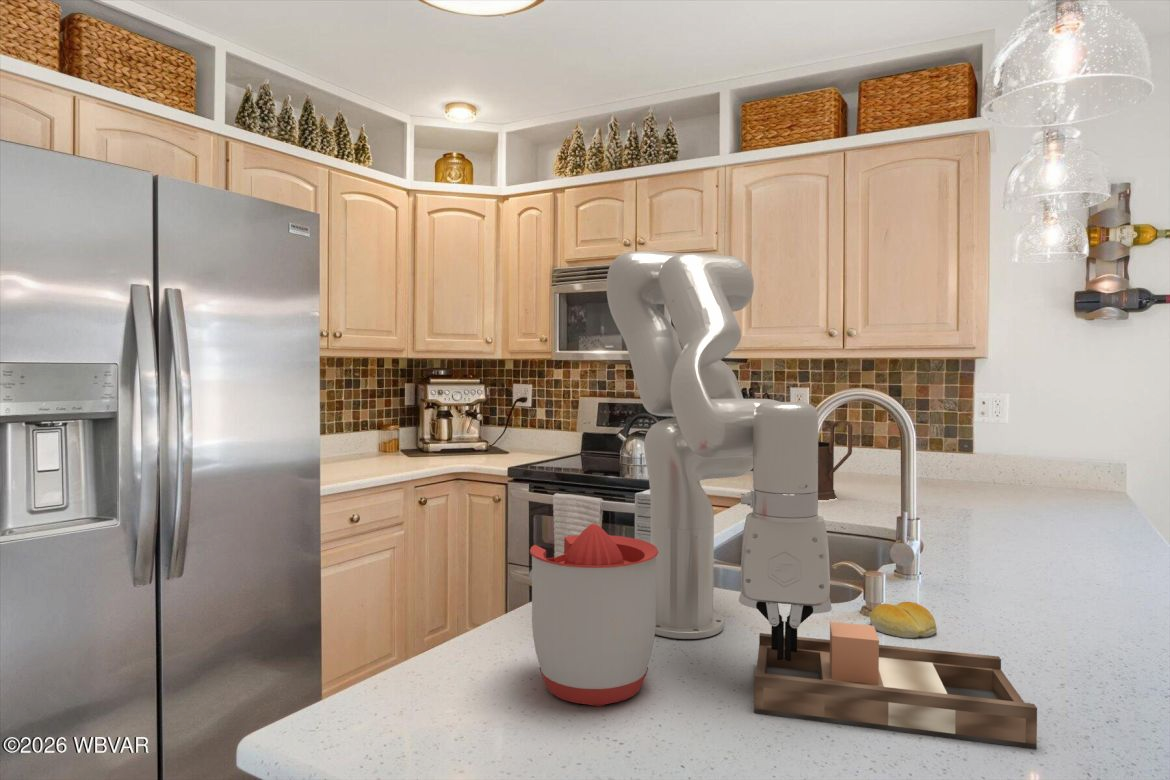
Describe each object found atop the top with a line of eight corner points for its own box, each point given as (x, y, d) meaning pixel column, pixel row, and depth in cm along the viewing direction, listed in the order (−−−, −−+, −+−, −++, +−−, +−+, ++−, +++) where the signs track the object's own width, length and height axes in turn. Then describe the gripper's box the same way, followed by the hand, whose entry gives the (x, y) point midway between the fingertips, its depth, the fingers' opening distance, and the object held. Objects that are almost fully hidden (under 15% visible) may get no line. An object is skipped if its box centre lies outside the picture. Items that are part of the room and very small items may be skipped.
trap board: (754, 712, 80) (754, 675, 80) (759, 664, 94) (759, 632, 94) (1036, 749, 73) (1037, 708, 73) (998, 690, 86) (998, 656, 86)
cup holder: (797, 491, 238) (798, 415, 237) (866, 500, 219) (867, 419, 219) (764, 497, 226) (764, 418, 225) (833, 507, 207) (834, 421, 207)
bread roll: (860, 622, 111) (860, 596, 111) (914, 620, 112) (914, 594, 112) (889, 641, 103) (889, 614, 103) (947, 639, 104) (947, 611, 104)
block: (831, 679, 82) (832, 636, 82) (829, 662, 87) (829, 621, 87) (878, 684, 81) (878, 640, 81) (873, 667, 86) (874, 625, 86)
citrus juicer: (575, 648, 99) (575, 505, 99) (682, 682, 88) (683, 521, 88) (492, 686, 87) (492, 523, 87) (605, 730, 76) (605, 544, 76)
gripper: (718, 507, 84) (718, 661, 85) (853, 513, 80) (852, 676, 80) (724, 496, 92) (724, 639, 92) (848, 502, 87) (847, 651, 88)
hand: (784, 656), depth 86 cm, fingers closed
